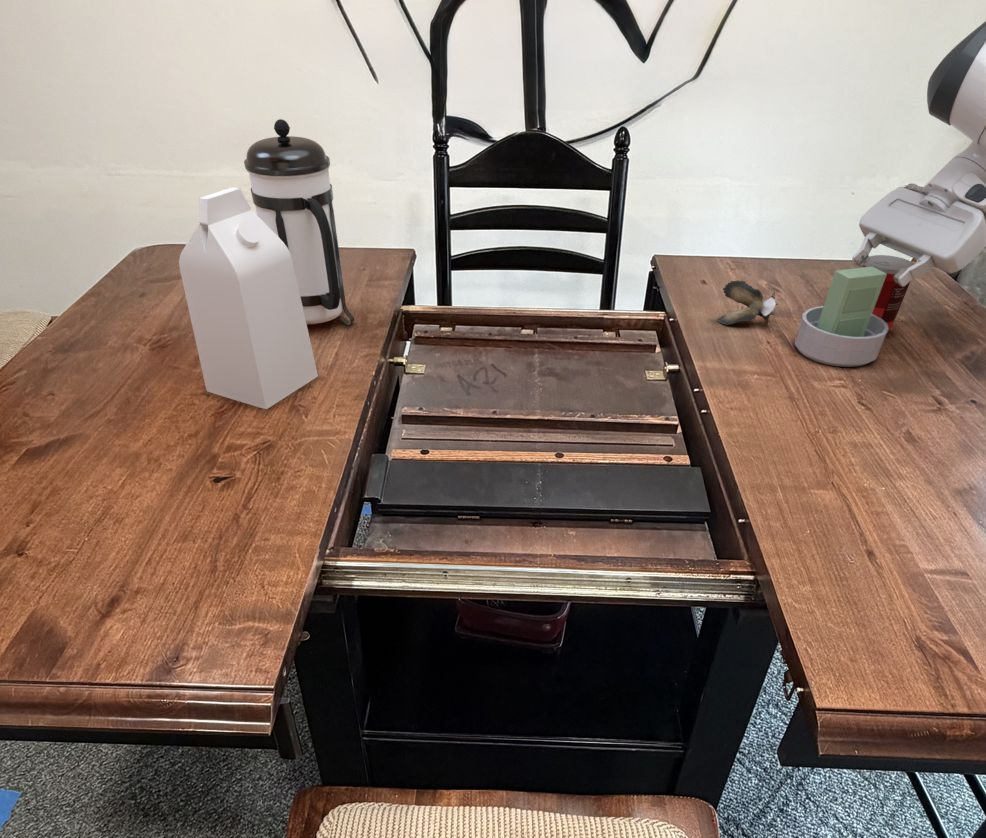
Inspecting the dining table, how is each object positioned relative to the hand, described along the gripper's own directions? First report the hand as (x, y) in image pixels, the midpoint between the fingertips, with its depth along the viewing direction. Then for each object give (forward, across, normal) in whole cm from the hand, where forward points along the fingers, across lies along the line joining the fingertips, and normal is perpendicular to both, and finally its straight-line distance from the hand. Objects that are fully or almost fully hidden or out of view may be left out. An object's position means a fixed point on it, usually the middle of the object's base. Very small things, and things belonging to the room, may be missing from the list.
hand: (876, 272), depth 110 cm
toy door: (+10, -1, +7) cm, 12 cm away
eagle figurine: (+16, -16, +2) cm, 23 cm away
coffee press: (+67, -37, -50) cm, 92 cm away
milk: (+76, -16, -58) cm, 97 cm away
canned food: (+2, -7, +16) cm, 17 cm away
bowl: (+10, -1, +7) cm, 13 cm away
